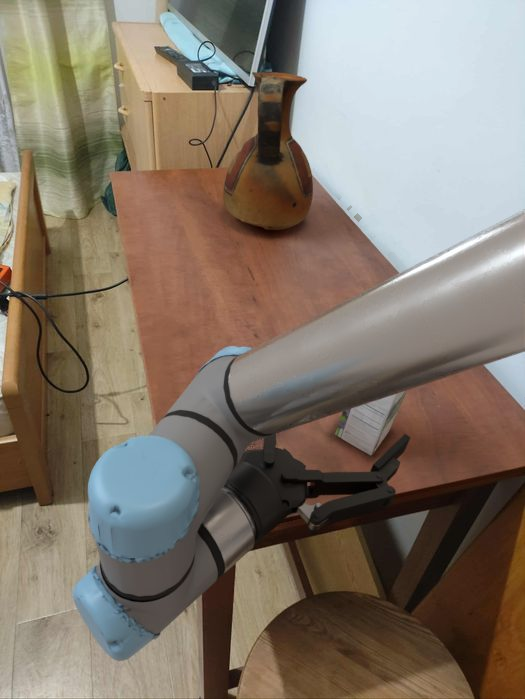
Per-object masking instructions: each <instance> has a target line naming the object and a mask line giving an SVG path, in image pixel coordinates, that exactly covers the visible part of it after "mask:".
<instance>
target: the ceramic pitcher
mask: <svg viewBox="0 0 525 699" xmlns="http://www.w3.org/2000/svg"><path fill="white" fill-rule="evenodd" d="M251 74H252V76H253V78H254V79H255V81H256V84H257V85H258V86H259V89H258V93H257V133H256V134H255V135H254V136H252V137H250V138H248V140H246V141H245V142H244V143H243V144H242V145H241V146H240V148H238V150H237V151H236V153H235V154H234V156H233V158H232V160H231V162H230V164H229V166H228V169H227V172H226V174H225V179H224V183H223V194H222V198H223V205H224V207H225V210H226V211H227V212H228V213H229V214H230V215H231V216H232V217H234V218H236V219H237V220H239V221H241V222H242V223H246V224H249V225H251V226H255V227H260V228H262V229H264V230H270V231H274V230H275V231H279V230H285V229H289V228H291V227H293V226H296V225H299V224H300V223H301V222H303V221H304V220H305V219H306V218H307V216H308V215H309V212H310V209H311V206H312V202H313V196H314V183H313V173H312V169H311V165H310V162H309V160H308V157H307V155H306V154H305V152H304V150H303V148H302V146H301V145H300V144H299V142H297V141H296V139H294V137H293V136H292V132H291V128H290V127H291V126H290V117H291V116H290V115H291V108H292V103H293V100H294V96H295V95H296V93H297V91H298V90H299V89H300V88H301V86H303V85H304V84H306V83H307V82H308V79H307V78H306V77H303V76H301V75H295V74H290V73H287V72H286V73H285V72H256V71H253V72H251Z"/></svg>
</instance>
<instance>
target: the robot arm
mask: <svg viewBox="0 0 525 699" xmlns="http://www.w3.org/2000/svg"><path fill="white" fill-rule="evenodd" d="M524 352H525V208H524V209H522V210H520V211H517V212H516V213H514V214H512V215H510V216H508V217H506V218H504V219H502V220H500V221H497V222H496V223H494V224H492V225H491V226H488V227H487V228H485V229H482V230H481V231H479V232H477V233H475V234H473V235H471V236H469V237H467V238H465V239H463V240H461V241H460V242H457V243H455V244H454V245H452V246H449V247H448V248H446V249H444V250H442V251H440V252H437V253H436V254H434V255H432V256H430V257H428V258H426V259H424V260H422V261H420V262H418V263H416V264H415V265H413V266H410V267H408V268H406V269H405V270H403V271H400V272H399V273H397V274H395V275H393V276H391V277H388V279H385V280H383V281H382V282H380V283H378V284H377V283H376V285H374V286H371V287H370V288H368V289H365V290H364V291H361V292H360V293H357V294H356V295H354V296H352V297H349V299H347V300H344V301H343V302H341V303H339V304H337V305H335V306H333V307H331V308H329V309H327V310H324V311H323V312H321V313H319V314H317V315H315V316H313V317H312V318H309V319H307V320H305V321H303V322H302V323H300V324H298V325H296V326H293V327H292V328H290V329H287V330H286V331H284V332H282V333H280V334H278V335H276V336H274V337H272V338H270V339H269V340H266V341H265V342H263V343H260V344H258V345H257V346H254V347H249V346H245V345H244V346H238V345H237V346H236V345H229V346H226V347H223V348H222V349H220V350H219V351H218V352H216V353H215V354H214V355H213V356H212V357H211V358H210V359H209V360H208V361H207V362H205V363H204V364H203V365H202V366H201V367H200V368H199V370H198V372H197V374H195V376H194V378H193V379H192V380H191V382H190V383H189V384H188V385H187V387H186V388H185V389H184V390H183V392H182V393H181V394H180V396H179V397H178V398H177V399H176V401H175V402H174V403H173V404H172V406H171V407H170V408H169V410H167V412H166V414H164V416H163V417H162V418H161V420H160V421H158V423H157V424H156V425H155V426H154V428H152V430H151V431H150V432H149V434H148V435H136V436H133V437H129V438H128V439H127V440H126V441H124V442H122V443H119V444H117V445H113V446H111V447H110V448H109V449H107V450H106V451H105V452H104V453H102V455H101V456H100V457H99V458H98V460H97V461H96V462H95V464H94V466H93V468H92V470H91V472H90V475H89V477H88V483H87V497H88V498H87V499H88V514H87V516H88V518H87V520H88V524H89V529H90V533H91V535H92V536H93V539H94V542H95V546H96V549H97V552H98V557H99V563H98V564H95V565H93V566H92V567H91V568H90V570H89V571H88V572H87V573H86V574H85V575H84V576H83V577H82V578H80V579H79V581H77V582H76V584H75V586H74V587H73V589H72V599H73V603H74V605H75V607H76V610H77V612H78V613H79V615H80V617H81V619H82V620H83V622H84V624H85V626H86V627H87V628H88V630H89V632H90V634H91V635H92V636H93V638H94V639H95V641H96V642H97V643H98V645H99V646H100V647H101V649H102V650H103V651H104V652H105V654H106V655H107V656H109V657H110V658H111V659H112V660H114V661H117V662H123V661H127V660H129V659H131V658H132V657H133V656H135V655H136V654H137V653H138V652H139V651H141V650H142V649H143V648H144V647H145V646H147V645H148V644H150V643H151V642H153V640H157V639H158V638H159V637H160V635H161V634H162V632H163V631H164V630H165V629H166V628H167V627H169V625H171V624H172V623H173V621H175V620H176V619H177V618H178V617H179V616H180V615H181V614H182V613H183V612H184V611H186V609H188V608H189V607H190V606H191V605H193V603H194V602H195V601H196V600H198V598H200V597H201V596H202V595H203V594H204V593H205V592H206V591H207V590H209V589H210V587H212V586H213V585H214V584H215V583H217V580H219V579H220V578H221V577H222V576H224V574H226V573H227V572H228V571H229V570H230V569H232V567H233V566H234V565H236V564H237V563H238V562H239V561H240V560H241V559H242V558H244V556H245V555H246V554H248V553H249V552H250V551H251V550H252V549H253V548H254V546H255V544H256V543H257V544H258V543H259V542H261V541H262V540H263V539H265V538H266V537H267V536H268V535H269V534H270V533H271V532H272V531H273V530H274V529H276V528H277V527H278V526H279V525H280V524H281V523H282V522H283V521H284V520H286V518H287V517H289V516H291V515H293V514H298V515H299V516H300V518H301V519H302V520H303V521H304V522H305V523H306V524H307V526H306V531H307V532H308V533H309V534H310V535H317V534H318V533H319V532H321V531H322V530H324V529H325V528H326V527H328V526H329V525H333V524H335V523H340V522H343V521H346V520H350V519H354V518H357V517H361V516H365V515H367V514H371V513H375V512H379V511H382V510H386V509H388V508H390V506H391V504H392V502H393V500H394V497H395V496H396V494H397V490H396V488H395V487H393V486H392V485H389V483H388V482H389V481H390V480H391V479H392V478H393V477H394V476H395V475H396V474H397V472H398V470H399V468H400V465H401V461H400V460H399V458H400V457H401V456H402V455H403V454H404V453H405V450H406V449H407V446H408V444H409V442H410V440H411V438H412V437H411V436H410V435H408V434H406V433H403V435H402V436H401V437H400V438H399V439H398V440H396V441H395V443H393V444H392V445H391V446H390V447H389V448H388V449H387V450H386V451H385V452H384V453H383V454H382V455H381V456H380V457H379V458H377V460H376V461H375V462H374V463H373V464H372V466H371V469H370V471H331V472H330V471H329V472H328V471H327V472H324V471H323V472H322V471H321V470H320V469H307V468H306V467H307V465H306V464H305V463H303V461H301V460H299V459H297V458H295V457H294V456H293V455H292V453H291V452H290V451H289V450H288V449H286V448H285V447H284V448H283V449H282V448H280V447H277V434H280V433H283V432H284V431H289V430H291V429H294V428H297V427H300V426H304V425H307V424H310V423H312V422H315V421H317V420H321V419H324V418H327V417H331V416H334V415H336V414H339V413H342V412H343V411H346V410H349V409H352V408H355V407H358V406H361V405H364V404H367V403H370V402H373V401H376V400H379V399H382V398H385V397H388V396H391V395H394V394H397V393H400V392H403V391H407V392H408V391H409V390H412V389H413V390H414V389H415V388H418V387H421V386H425V385H428V384H431V383H433V382H437V381H439V380H443V379H445V378H449V377H452V376H455V375H459V374H461V373H464V372H467V371H470V370H473V369H476V368H479V367H482V366H485V365H488V364H491V363H495V362H497V361H501V360H503V359H506V358H509V357H512V356H516V355H518V354H522V353H524ZM259 440H263V443H262V444H263V447H262V448H258V449H257V448H256V449H248V450H247V448H248V447H249V446H250V445H251V444H252V443H254V442H257V441H259ZM308 484H309V485H308ZM321 496H343V497H339V498H335V499H331V500H328V501H326V502H324V503H321V502H316V503H314V504H309V503H307V502H306V501H307V499H316V498H319V497H321Z"/></svg>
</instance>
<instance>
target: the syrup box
mask: <svg viewBox="0 0 525 699" xmlns="http://www.w3.org/2000/svg"><path fill="white" fill-rule="evenodd" d="M407 392H408V390H407V391H403V392H400V393H397V394H394V395H391V396H388V397H385V398H382V399H379V400H376V401H373V402H370V403H367V404H364V405H361V406H358V407H355V408H352V409H349V410H346V411H343V412H341V416H340V419H339V421H338V425H337V427H336V431H335V433H334V434H335V436H336V437H338V438H340V439H341V440H343V441H345V442H346V443H348V444H349V445H351V446H353V447H355V448H356V449H358V450H360V451H362V452H363V453H364V454H367V455H368V456H373V455H374V454H375V452H376V451H377V450H378V448H379V447H380V445H381V444H382V442H383V441H384V440H385V438H386V437H387V435H388V434H389V433H390V431H391V428H392V426H393V424H394V422H395V420H396V417H397V415H398V413H399V411H400V408H401V406H402V404H403V402H404V399H405V397H406V395H407Z"/></svg>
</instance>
